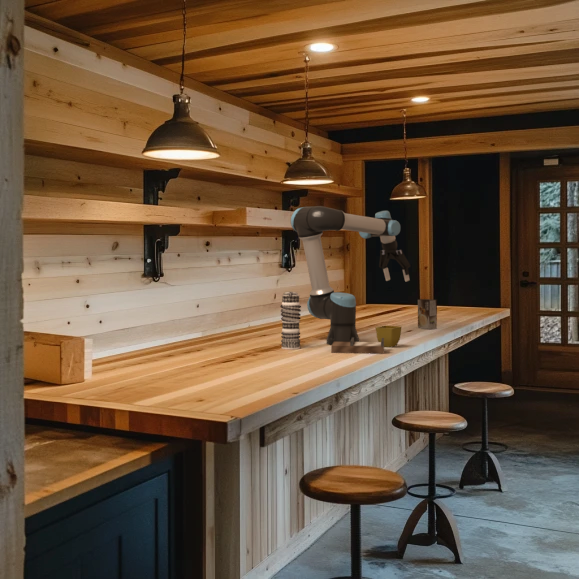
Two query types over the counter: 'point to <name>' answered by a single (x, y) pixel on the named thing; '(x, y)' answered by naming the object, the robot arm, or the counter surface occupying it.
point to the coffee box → (427, 314)
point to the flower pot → (389, 335)
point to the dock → (358, 347)
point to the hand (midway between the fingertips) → (397, 280)
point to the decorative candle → (290, 320)
